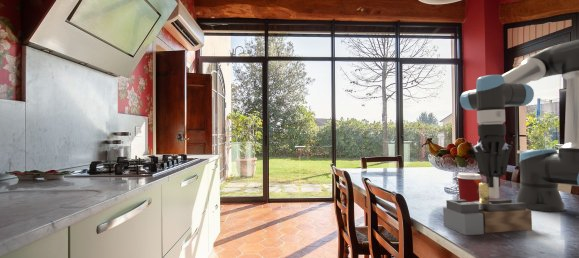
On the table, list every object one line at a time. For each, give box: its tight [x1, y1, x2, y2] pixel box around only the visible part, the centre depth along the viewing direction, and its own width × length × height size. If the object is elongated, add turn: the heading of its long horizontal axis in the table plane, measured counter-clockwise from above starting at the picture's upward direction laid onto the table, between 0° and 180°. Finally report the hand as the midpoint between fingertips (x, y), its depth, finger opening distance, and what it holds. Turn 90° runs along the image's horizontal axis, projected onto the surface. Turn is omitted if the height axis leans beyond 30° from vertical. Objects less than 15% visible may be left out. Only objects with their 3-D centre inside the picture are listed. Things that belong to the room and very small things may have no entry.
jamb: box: [442, 199, 485, 236], centre depth 94 cm, size 6×10×9 cm, turn 8°
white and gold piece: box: [461, 182, 492, 210], centre depth 95 cm, size 9×3×8 cm, turn 98°
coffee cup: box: [456, 172, 483, 202], centre depth 112 cm, size 8×8×15 cm
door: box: [473, 198, 533, 234], centre depth 96 cm, size 16×8×8 cm, turn 98°
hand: (493, 197), depth 96 cm, fingers closed
